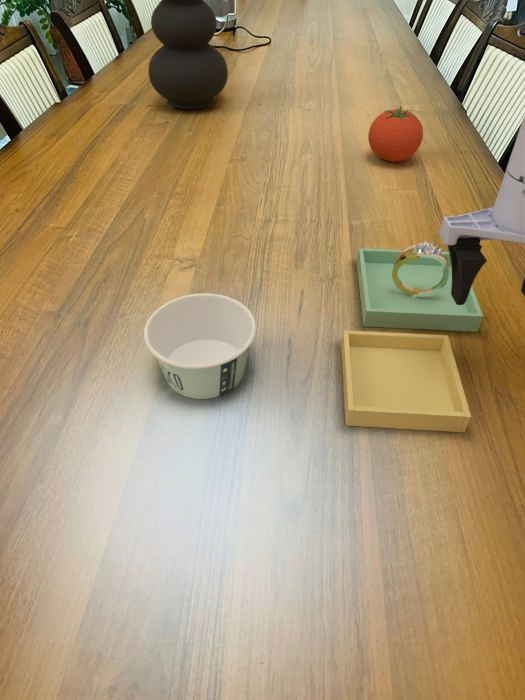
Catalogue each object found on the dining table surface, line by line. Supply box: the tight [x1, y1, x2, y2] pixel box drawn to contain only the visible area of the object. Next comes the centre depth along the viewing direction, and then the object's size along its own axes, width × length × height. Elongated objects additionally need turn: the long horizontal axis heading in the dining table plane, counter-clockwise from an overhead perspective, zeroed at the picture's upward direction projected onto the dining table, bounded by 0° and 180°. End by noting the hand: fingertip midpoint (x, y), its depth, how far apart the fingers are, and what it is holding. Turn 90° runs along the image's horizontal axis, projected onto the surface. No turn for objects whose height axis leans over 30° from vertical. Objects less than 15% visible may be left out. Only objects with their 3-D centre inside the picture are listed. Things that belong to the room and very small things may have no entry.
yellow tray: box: [340, 329, 472, 433], centre depth 56 cm, size 12×12×3 cm
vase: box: [148, 0, 229, 110], centre depth 112 cm, size 18×18×35 cm
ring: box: [392, 239, 449, 298], centre depth 65 cm, size 7×3×8 cm, turn 70°
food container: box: [143, 292, 257, 400], centre depth 57 cm, size 12×12×6 cm
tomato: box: [367, 106, 424, 163], centre depth 98 cm, size 10×10×10 cm
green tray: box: [356, 247, 484, 333], centre depth 68 cm, size 14×14×3 cm
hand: (492, 297), depth 54 cm, fingers open, 7 cm apart
